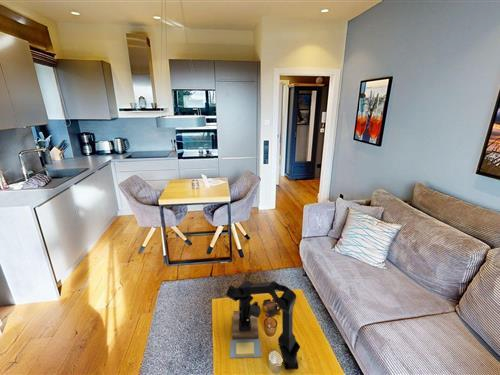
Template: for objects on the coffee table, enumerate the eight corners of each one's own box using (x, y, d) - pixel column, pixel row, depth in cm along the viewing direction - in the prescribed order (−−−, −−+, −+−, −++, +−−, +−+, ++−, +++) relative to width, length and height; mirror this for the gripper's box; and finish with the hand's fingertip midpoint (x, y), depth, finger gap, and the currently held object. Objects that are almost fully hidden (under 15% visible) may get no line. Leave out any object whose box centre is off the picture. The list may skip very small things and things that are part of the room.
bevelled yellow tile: (253, 342, 127) (253, 345, 128) (236, 342, 127) (236, 345, 128) (254, 353, 122) (254, 356, 122) (236, 353, 122) (236, 356, 122)
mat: (261, 357, 122) (261, 356, 122) (229, 358, 122) (229, 357, 122) (260, 339, 132) (260, 338, 132) (230, 340, 131) (230, 339, 131)
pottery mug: (260, 316, 147) (259, 302, 148) (266, 312, 155) (264, 298, 157) (280, 317, 142) (278, 302, 144) (284, 312, 151) (283, 298, 152)
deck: (258, 339, 132) (258, 333, 130) (232, 340, 131) (232, 334, 130) (256, 315, 147) (256, 310, 146) (233, 316, 147) (233, 310, 145)
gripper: (261, 318, 120) (260, 341, 125) (258, 290, 138) (258, 312, 142) (238, 318, 119) (239, 342, 124) (238, 291, 137) (239, 313, 142)
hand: (244, 326), depth 133 cm, fingers closed
